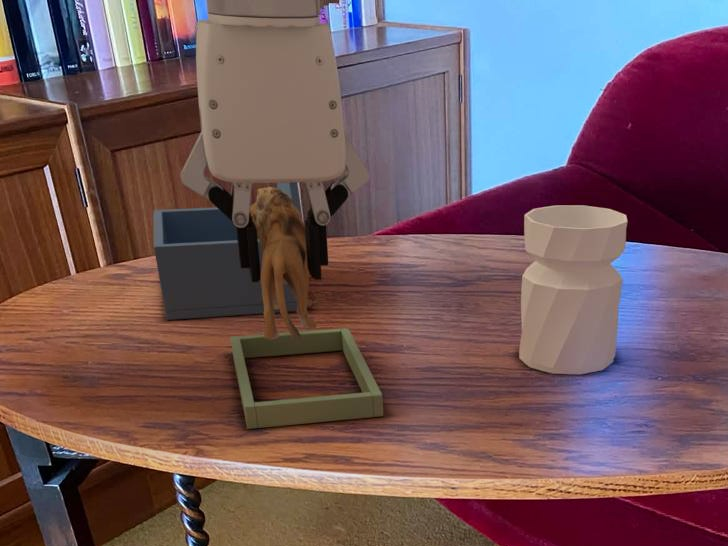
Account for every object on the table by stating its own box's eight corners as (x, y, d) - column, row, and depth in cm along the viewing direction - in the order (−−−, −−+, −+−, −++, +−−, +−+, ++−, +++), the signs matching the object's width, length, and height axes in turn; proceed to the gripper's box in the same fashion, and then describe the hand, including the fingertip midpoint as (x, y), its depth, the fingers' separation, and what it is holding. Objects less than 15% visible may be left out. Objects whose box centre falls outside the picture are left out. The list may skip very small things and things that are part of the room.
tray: (247, 429, 74) (244, 407, 72) (232, 356, 86) (230, 336, 85) (383, 416, 76) (382, 394, 75) (349, 347, 89) (348, 327, 88)
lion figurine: (246, 295, 84) (234, 183, 79) (307, 291, 85) (299, 181, 80) (267, 350, 73) (254, 223, 67) (336, 345, 74) (329, 221, 69)
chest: (166, 320, 94) (153, 246, 90) (164, 276, 107) (153, 210, 103) (307, 310, 97) (301, 239, 93) (289, 269, 110) (283, 204, 106)
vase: (551, 381, 83) (559, 233, 75) (501, 349, 89) (505, 210, 82) (634, 365, 86) (650, 222, 79) (580, 336, 92) (590, 201, 85)
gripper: (374, -1, 70) (380, 260, 81) (134, -8, 66) (174, 267, 77) (394, 5, 64) (398, 285, 75) (132, -3, 60) (176, 294, 71)
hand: (284, 273), depth 76 cm, fingers closed on lion figurine, 4 cm apart
